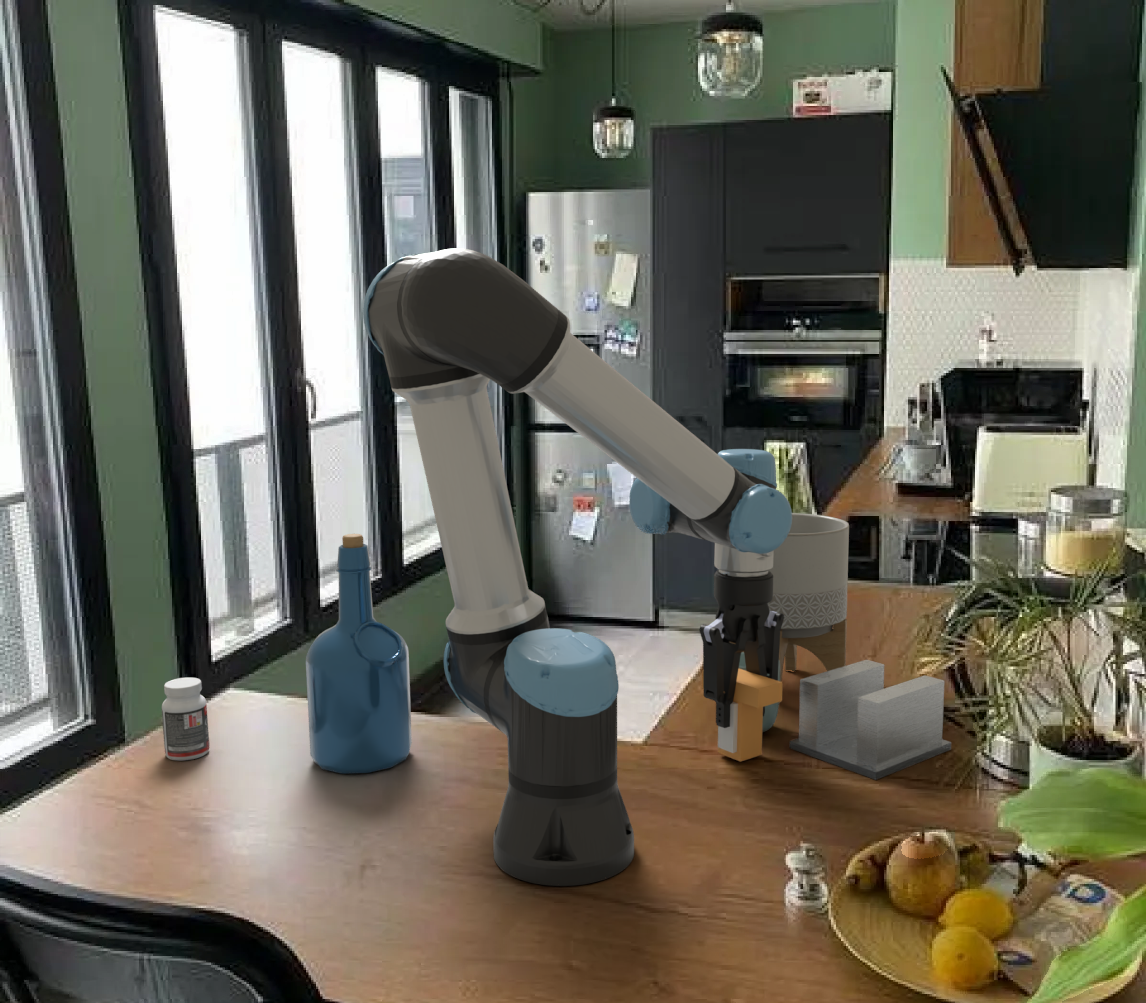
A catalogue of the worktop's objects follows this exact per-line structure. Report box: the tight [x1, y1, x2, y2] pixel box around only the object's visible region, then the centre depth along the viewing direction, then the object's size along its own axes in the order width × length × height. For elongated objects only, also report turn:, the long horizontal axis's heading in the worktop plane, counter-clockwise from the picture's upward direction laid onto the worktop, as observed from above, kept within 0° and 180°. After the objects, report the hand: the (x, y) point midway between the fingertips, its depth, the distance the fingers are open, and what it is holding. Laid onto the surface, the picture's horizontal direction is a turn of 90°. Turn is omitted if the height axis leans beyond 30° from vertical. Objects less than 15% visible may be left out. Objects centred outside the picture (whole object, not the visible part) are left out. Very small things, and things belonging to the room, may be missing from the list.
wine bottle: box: [305, 533, 413, 774], centre depth 148 cm, size 14×13×30 cm
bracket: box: [788, 659, 952, 781], centre depth 150 cm, size 16×14×10 cm
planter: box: [730, 512, 850, 705], centre depth 176 cm, size 19×19×26 cm
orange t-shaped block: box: [701, 669, 784, 763], centre depth 148 cm, size 4×10×10 cm, turn 38°
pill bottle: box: [161, 677, 210, 762], centre depth 151 cm, size 6×6×10 cm
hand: (740, 745), depth 149 cm, fingers closed on orange t-shaped block, 4 cm apart
